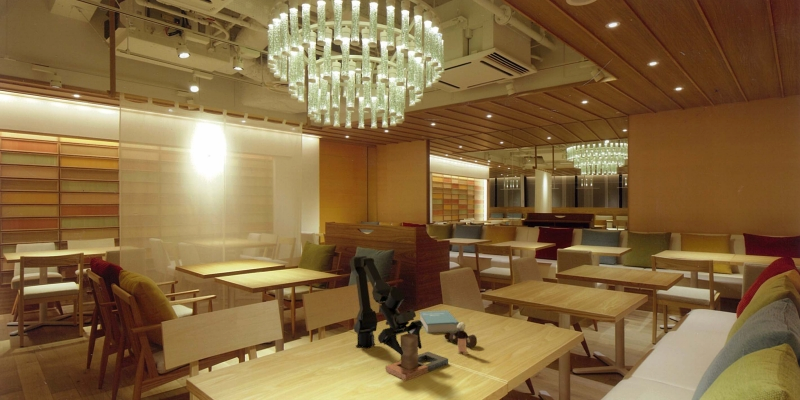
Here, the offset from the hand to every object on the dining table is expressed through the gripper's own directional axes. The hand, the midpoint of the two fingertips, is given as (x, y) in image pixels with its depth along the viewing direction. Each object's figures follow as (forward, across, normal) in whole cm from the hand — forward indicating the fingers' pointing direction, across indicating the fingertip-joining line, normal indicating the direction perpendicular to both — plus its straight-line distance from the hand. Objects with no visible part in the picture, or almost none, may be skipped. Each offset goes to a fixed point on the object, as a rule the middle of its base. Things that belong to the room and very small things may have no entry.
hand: (411, 351), depth 151 cm
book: (-18, +49, +30) cm, 60 cm away
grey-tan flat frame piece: (+4, +4, +6) cm, 9 cm away
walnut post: (+4, 0, +6) cm, 8 cm away
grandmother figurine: (+5, +28, +6) cm, 29 cm away
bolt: (0, +36, +12) cm, 38 cm away
